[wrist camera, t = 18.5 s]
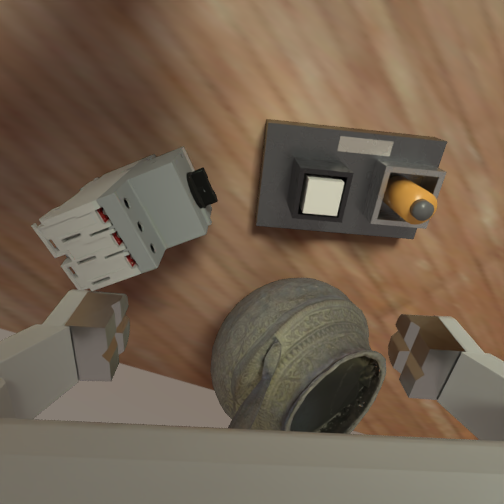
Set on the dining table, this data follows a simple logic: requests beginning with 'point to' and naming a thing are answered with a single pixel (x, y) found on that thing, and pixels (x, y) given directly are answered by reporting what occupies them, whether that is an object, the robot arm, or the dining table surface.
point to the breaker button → (321, 194)
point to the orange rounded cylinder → (409, 200)
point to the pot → (296, 360)
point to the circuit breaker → (129, 219)
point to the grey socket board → (343, 176)
